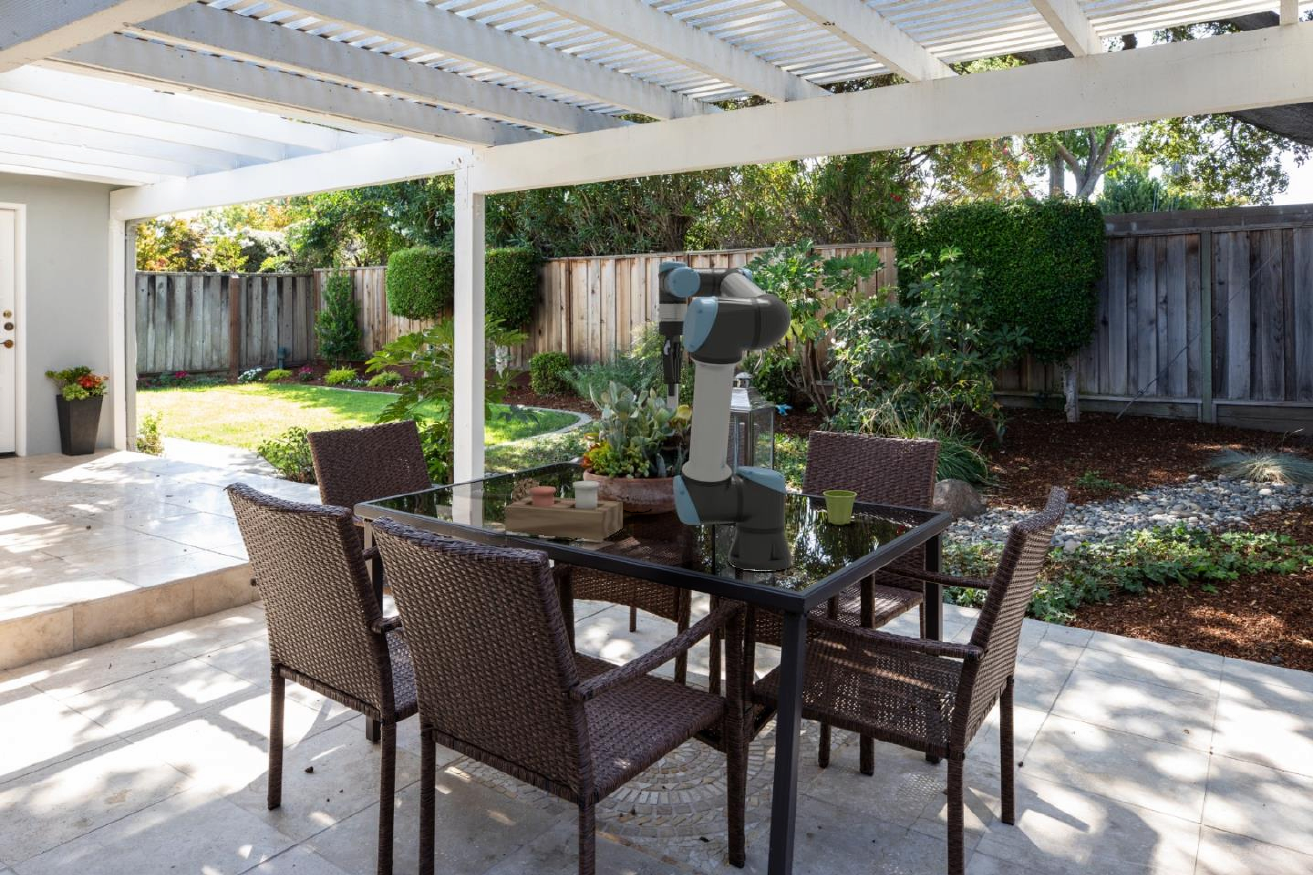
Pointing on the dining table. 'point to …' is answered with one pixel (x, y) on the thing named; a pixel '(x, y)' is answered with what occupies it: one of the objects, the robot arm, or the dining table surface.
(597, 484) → the grey plug
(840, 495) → the plant pot
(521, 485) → the pine cone
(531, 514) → the brown wooden plug box
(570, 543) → the dining table surface
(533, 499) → the red plug
